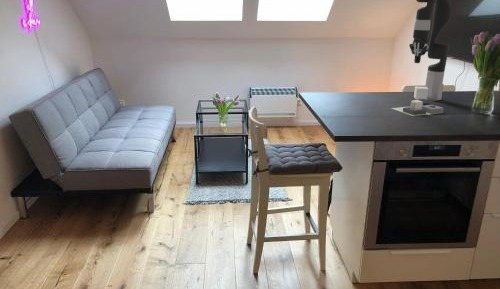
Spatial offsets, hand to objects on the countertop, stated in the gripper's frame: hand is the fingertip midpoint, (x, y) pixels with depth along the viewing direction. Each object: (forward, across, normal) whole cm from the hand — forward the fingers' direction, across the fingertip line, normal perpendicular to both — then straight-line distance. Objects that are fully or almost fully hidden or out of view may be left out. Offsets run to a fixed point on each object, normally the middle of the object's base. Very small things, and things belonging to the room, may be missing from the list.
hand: (416, 63), depth 215 cm
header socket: (+24, -10, +6) cm, 27 cm away
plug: (+24, -10, +6) cm, 27 cm away
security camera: (+25, +7, -12) cm, 29 cm away
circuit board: (+25, -7, +2) cm, 26 cm away
